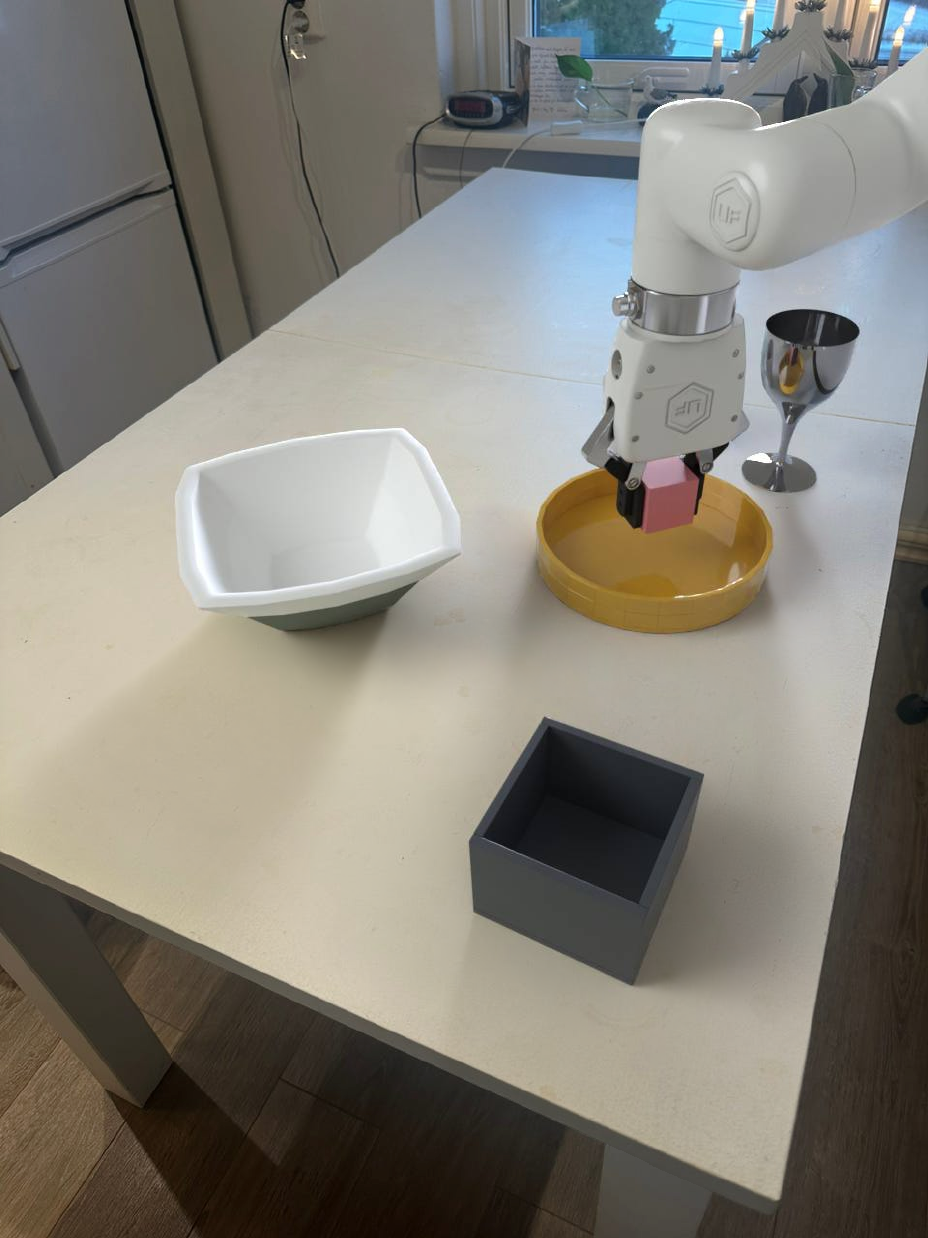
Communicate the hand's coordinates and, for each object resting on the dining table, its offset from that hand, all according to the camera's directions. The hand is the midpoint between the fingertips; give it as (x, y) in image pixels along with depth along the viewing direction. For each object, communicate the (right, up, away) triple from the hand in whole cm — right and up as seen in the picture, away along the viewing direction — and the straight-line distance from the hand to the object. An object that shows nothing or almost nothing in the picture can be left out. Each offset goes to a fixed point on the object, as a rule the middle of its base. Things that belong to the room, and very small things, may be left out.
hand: (657, 511), depth 74 cm
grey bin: (-9, -25, -20) cm, 33 cm away
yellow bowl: (0, -4, +4) cm, 5 cm away
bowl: (-29, -6, +3) cm, 29 cm away
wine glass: (+15, +5, +13) cm, 20 cm away
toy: (0, 0, 0) cm, 0 cm away
